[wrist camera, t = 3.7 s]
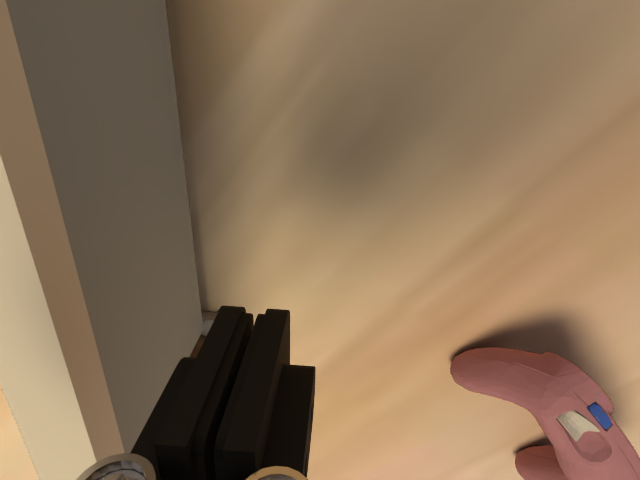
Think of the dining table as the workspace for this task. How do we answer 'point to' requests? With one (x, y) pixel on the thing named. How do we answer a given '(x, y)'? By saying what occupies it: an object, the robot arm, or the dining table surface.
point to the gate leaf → (90, 226)
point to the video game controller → (553, 413)
